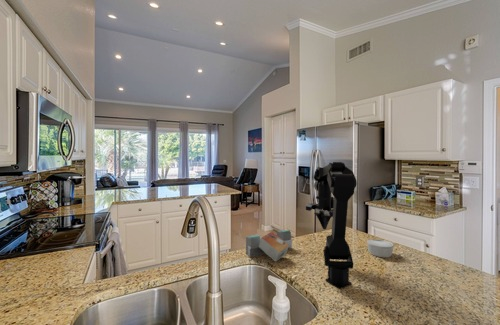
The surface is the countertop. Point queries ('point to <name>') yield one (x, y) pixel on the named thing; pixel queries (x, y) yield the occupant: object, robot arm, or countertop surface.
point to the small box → (273, 246)
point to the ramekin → (380, 247)
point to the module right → (284, 234)
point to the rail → (258, 251)
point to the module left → (252, 241)
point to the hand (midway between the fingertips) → (324, 229)
